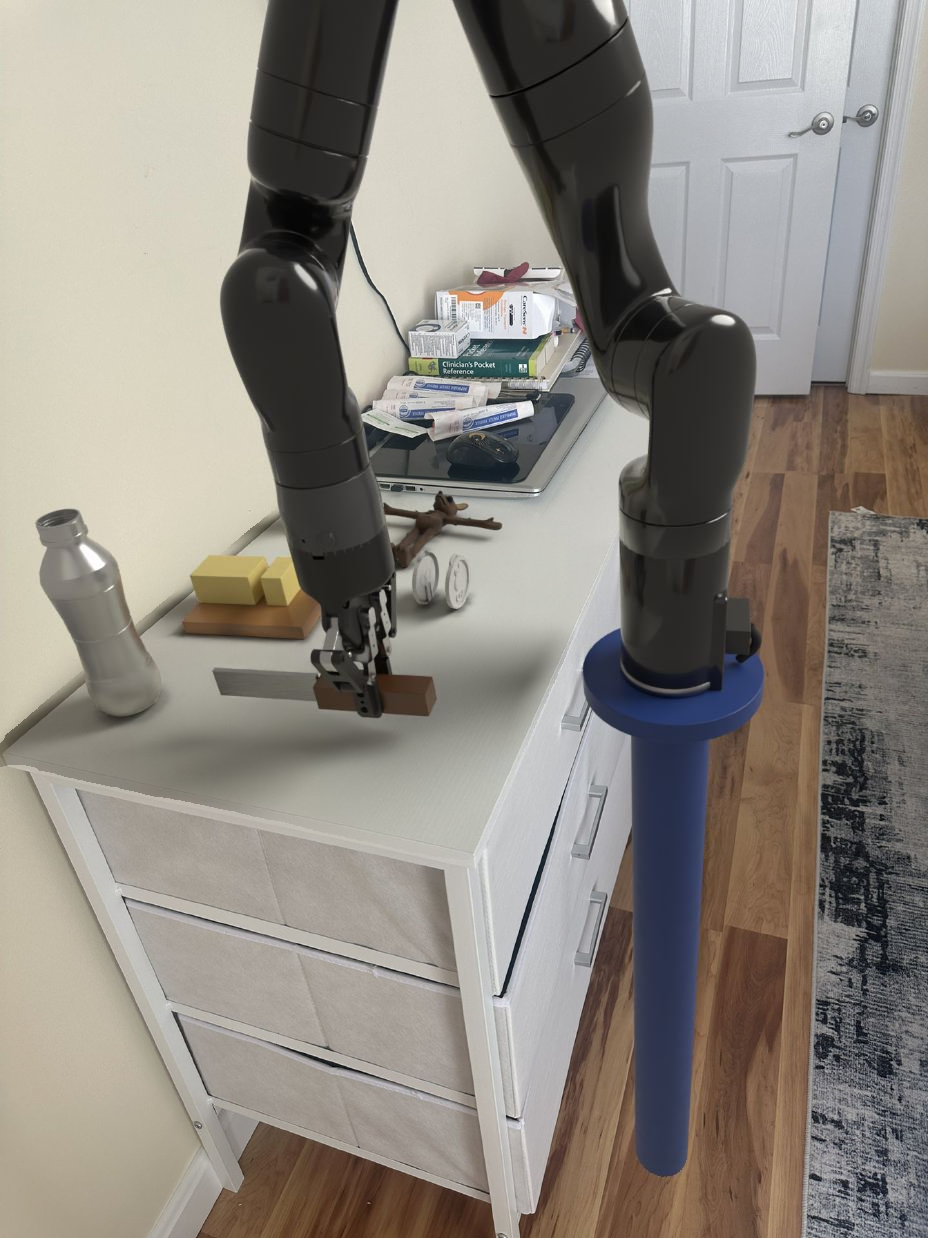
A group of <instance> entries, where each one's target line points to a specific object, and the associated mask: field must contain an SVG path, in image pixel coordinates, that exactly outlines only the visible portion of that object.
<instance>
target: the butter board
mask: <svg viewBox="0 0 928 1238" xmlns="http://www.w3.org/2000/svg"><path fill="white" fill-rule="evenodd" d="M269 567H270V565H268V568H269ZM320 617H321V606H320V604H319V603H318V602H317V601H315V600H314V599H313V598H311V597H310V596H308V595H307V594H306V593H304V592H303V591H302V589H300V590H299V591H298V593H297V594H296V595H295V597H294V598H293V600H292V601H291V602H290V604H289V605H288V606H273V605H268V604H267V601H266V597H265V594H264V595H263V596H262V598H261V599H260V600H259V601H258V603H257V604H256V605H246V604H221V603H199V602H197V604H196V605H195V606H194V607H193V609H191V610H190V612H189V613H188V614H187V615H186V616H185V617H184V619H183V620H181V624H182V627H183V630H184V632H185V634H198V635H217V636H236V637H239V636H240V637H255V638H256V637H257V638H276V639H277V638H279V639H293V640H295V639H298V640H305V639H306V638H307V636H308V635H309V633H310V632H311V630H312V629H313V627H314V626H315V624H316V623H317V621H318V620H319V619H320Z"/></svg>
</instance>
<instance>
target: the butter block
mask: <svg viewBox="0 0 928 1238" xmlns="http://www.w3.org/2000/svg"><path fill="white" fill-rule="evenodd" d="M268 566H269V565H268V560H267V557H266V556H258V555H223V554H222V555H220V554H219V555H217V554H208V556H207V557H206V558H205V559H204V560H203V561H201V563H200V564H199V565H198V566H197V567H196V568H195V569H194V570H193V571H192V572H191V573H190V574H189V578H190V581H191V584H192V587H193V590H194V593H195V596H196V600H197V603H221V604H246V605H256V604H257V603H258V601H259V600H260V599H261V598H262V596H263V595H264V594H265V593H264V590H263V586H262V583H261V579H260V577H261V576H262V575H263V574H264V573H265V571H266V570H267V569H268Z"/></svg>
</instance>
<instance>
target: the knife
mask: <svg viewBox="0 0 928 1238" xmlns="http://www.w3.org/2000/svg"><path fill="white" fill-rule="evenodd" d="M211 672H212V675H213V677H214V680H215V683H216V686H217V688H218V691H219V694H220V696H225V697H226V696H228V697H242V698H257V699H272V700H286V701H287V700H288V701H300V702H301V701H302V702H303V701H304V702H316V704H317V708H318V710H327V711H341V712H342V711H343V712H354V713H355V712H356V713H357V710H356V706H355V702H354V698H353V694H352V692H345V691H342V692H336V691H334V690H333V688H332V687H331V686H330V685H329V684H328V682H327V681H326V680H325V679H324V678H323V676H322V675H321V674H320V675H319V674H318V672H317V673H316V672H302V671H301V672H300V671H281V670H265V669H264V670H263V669H251V668H250V669H249V668H248V669H246V668H232V667H214V668H212V670H211ZM376 678H377V679H378V684H379V688H380V694H381V698H382V703H383V707H384V712H383V714H382V715H384V714H385V715H400V716H415V717H426V718H427V717H430V716H431V713H432V711H433V709H434V706H435V705H436V702H437V699H438V697H437V692H436V687H435V681H434V676H431V675H428V676H427V675H414V674H412V675H411V674H397V673H396V674H394V673H392V674H377V673H376Z"/></svg>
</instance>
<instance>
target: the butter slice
mask: <svg viewBox="0 0 928 1238" xmlns="http://www.w3.org/2000/svg"><path fill="white" fill-rule="evenodd" d="M269 566H270V567H269V568H268V569H267V570H266V571H265V573H264V574H263V575H262V576H261V577H260V579H261V583H262V586H263V590H264V593H265V597H266V601H267V604H268V605H273V606H288V605H289V604H290V602H291V601H292V600H293V598H294V597H295V595H296V594H297V593H298V591H299V590H300V589H301V588H300V586H299V583H298V580H297V576H296V572H295V568H294V565H293V561H292V557H291V556H277V557H275V559H274V560H273V561H272V562H271V564H270V565H269Z"/></svg>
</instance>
